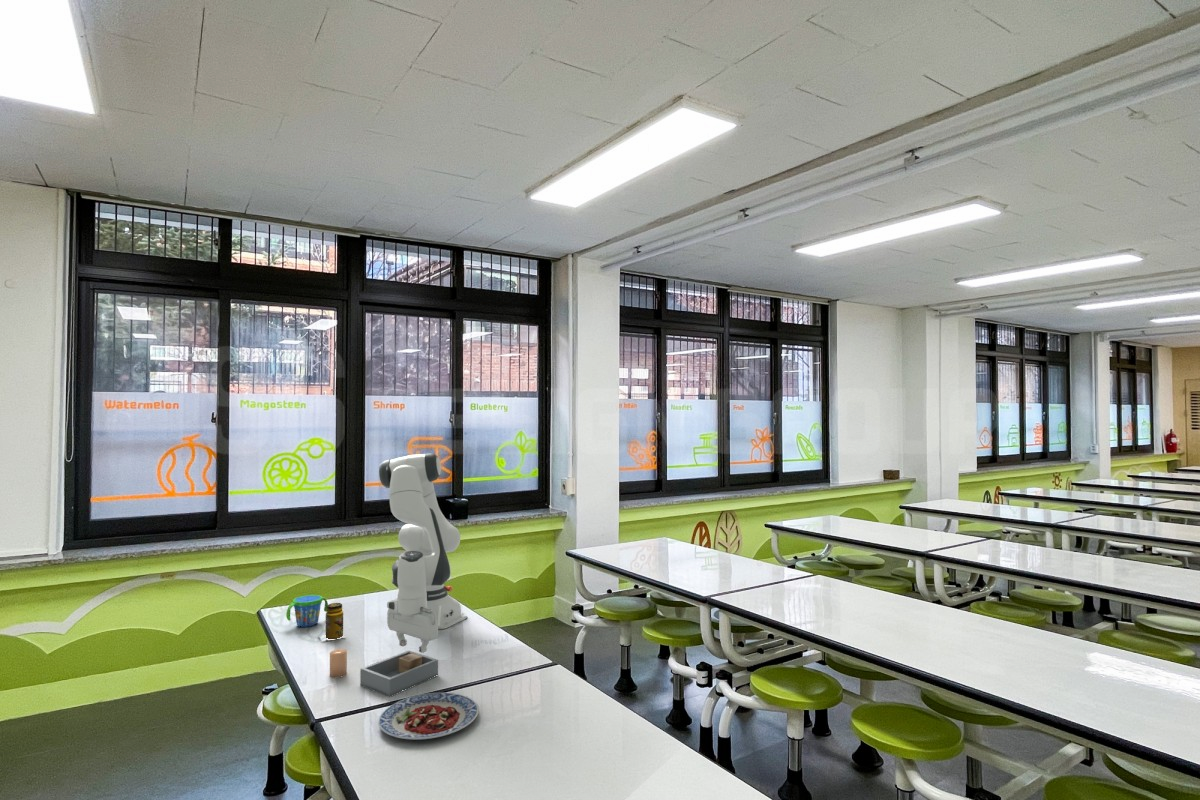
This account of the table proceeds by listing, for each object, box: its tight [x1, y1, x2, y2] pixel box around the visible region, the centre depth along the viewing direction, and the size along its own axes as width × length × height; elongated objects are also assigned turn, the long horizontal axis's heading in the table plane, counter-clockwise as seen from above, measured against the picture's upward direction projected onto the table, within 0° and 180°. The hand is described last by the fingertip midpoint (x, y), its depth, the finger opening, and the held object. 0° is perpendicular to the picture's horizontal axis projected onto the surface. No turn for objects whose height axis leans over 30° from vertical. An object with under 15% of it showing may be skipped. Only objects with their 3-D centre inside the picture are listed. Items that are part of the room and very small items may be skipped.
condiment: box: [325, 602, 344, 639], centre depth 235 cm, size 7×8×12 cm
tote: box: [359, 650, 439, 698], centre depth 197 cm, size 18×14×5 cm
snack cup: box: [285, 594, 329, 628], centre depth 250 cm, size 16×10×10 cm
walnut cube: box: [399, 653, 422, 674], centre depth 201 cm, size 5×5×5 cm
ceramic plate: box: [378, 692, 480, 740], centre depth 171 cm, size 26×26×3 cm
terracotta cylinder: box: [329, 648, 348, 679], centre depth 202 cm, size 5×5×7 cm
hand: (412, 648), depth 201 cm, fingers open, 8 cm apart
